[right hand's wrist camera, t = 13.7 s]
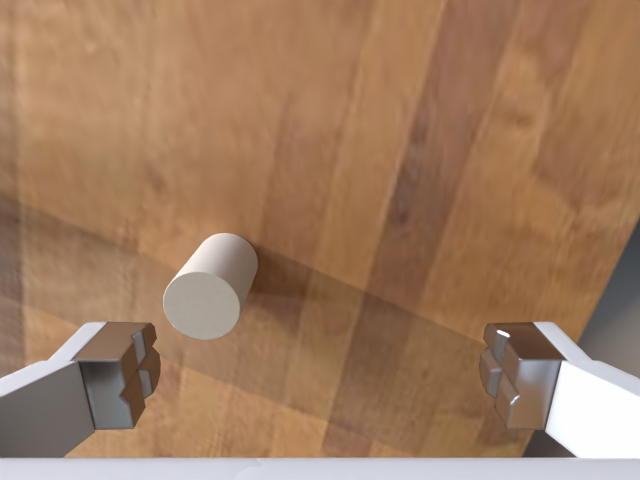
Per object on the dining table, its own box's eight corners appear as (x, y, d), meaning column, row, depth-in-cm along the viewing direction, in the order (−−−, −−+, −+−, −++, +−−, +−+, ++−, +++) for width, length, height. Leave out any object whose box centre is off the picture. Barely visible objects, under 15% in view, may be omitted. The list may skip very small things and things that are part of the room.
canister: (210, 295, 37) (180, 347, 29) (187, 242, 35) (150, 282, 28) (266, 281, 36) (250, 330, 29) (246, 225, 35) (224, 262, 27)
